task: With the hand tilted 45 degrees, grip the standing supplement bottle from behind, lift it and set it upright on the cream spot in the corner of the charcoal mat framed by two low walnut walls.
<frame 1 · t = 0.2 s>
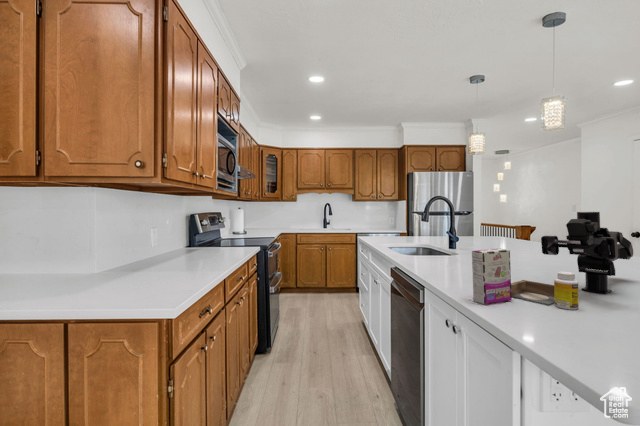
hand: (565, 250, 92), 16 cm above the countertop, tool horizontal, fingers open, 9 cm apart
supplement bottle: (566, 308, 90), on the countertop
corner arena: (535, 297, 99), on the countertop
candy bar box: (491, 301, 97), on the countertop
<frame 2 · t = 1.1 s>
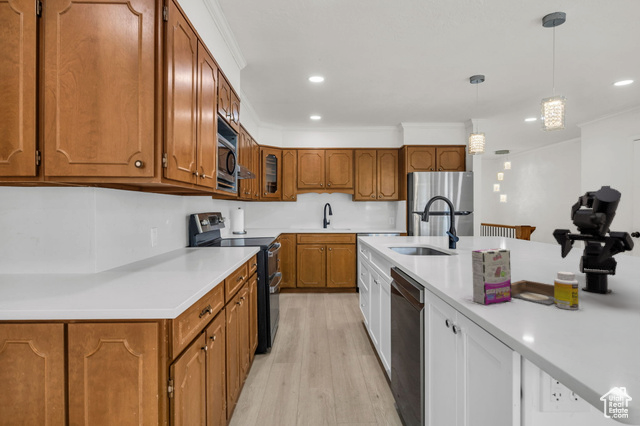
hand: (579, 259, 93), 13 cm above the countertop, tool tilted 45°, fingers open, 9 cm apart
nothing on the countertop moved.
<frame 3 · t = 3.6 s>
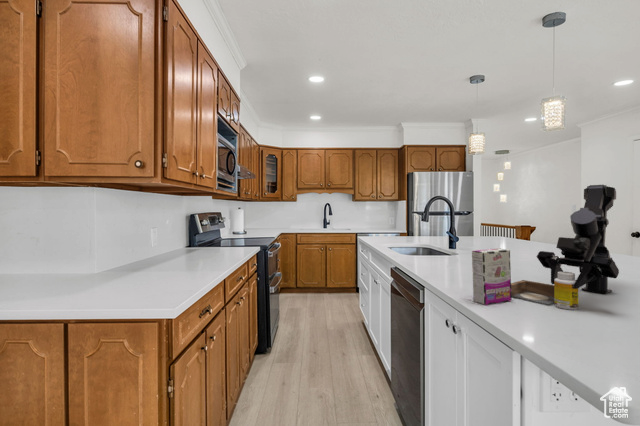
hand: (563, 285, 89), 7 cm above the countertop, tool tilted 45°, fingers closed on supplement bottle, 6 cm apart
supplement bottle: (566, 308, 90), on the countertop, touching gripper
everything else where it was.
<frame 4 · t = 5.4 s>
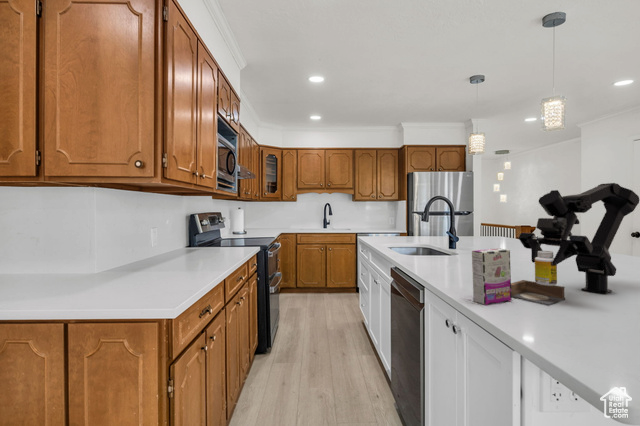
hand: (542, 263, 95), 12 cm above the countertop, tool tilted 45°, fingers closed on supplement bottle, 6 cm apart
supplement bottle: (546, 284, 96), point 5 cm above the countertop, touching gripper
everything else where it was.
when the fingers open (8 cm above the countertop, at t = 6.9 s): supplement bottle stays where it is, resting on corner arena.
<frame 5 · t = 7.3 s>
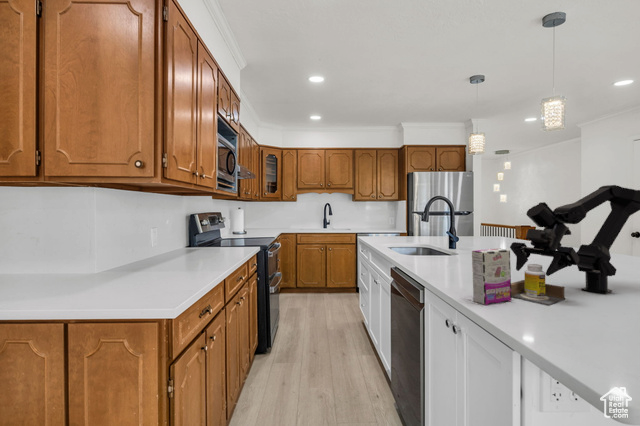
hand: (531, 272, 98), 9 cm above the countertop, tool tilted 45°, fingers open, 9 cm apart
supplement bottle: (534, 296, 99), resting on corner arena
everything else where it was.
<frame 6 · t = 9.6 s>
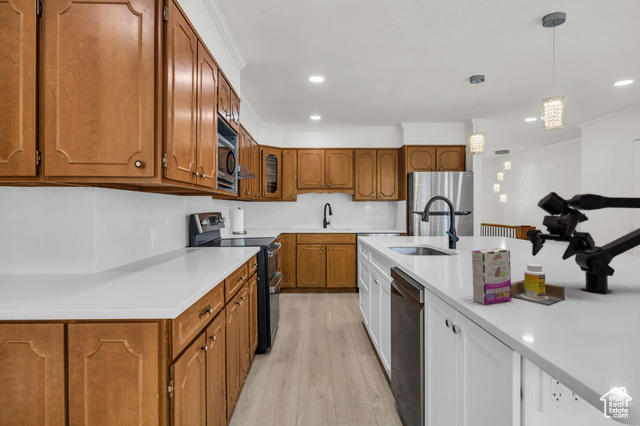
hand: (547, 257, 102), 13 cm above the countertop, tool tilted 45°, fingers open, 9 cm apart
nothing on the countertop moved.
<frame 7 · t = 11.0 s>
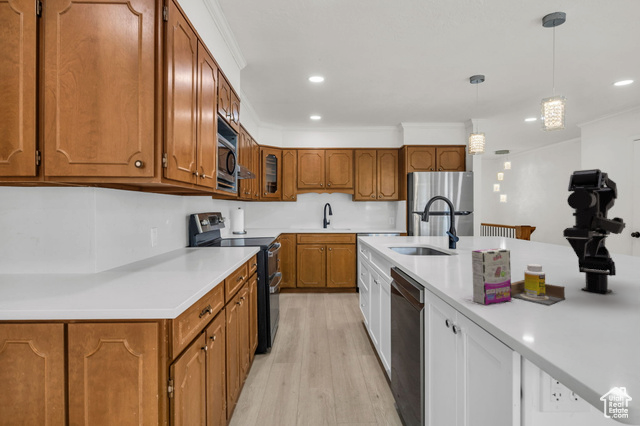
hand: (587, 258, 97), 13 cm above the countertop, tool pointing down, fingers open, 9 cm apart
nothing on the countertop moved.
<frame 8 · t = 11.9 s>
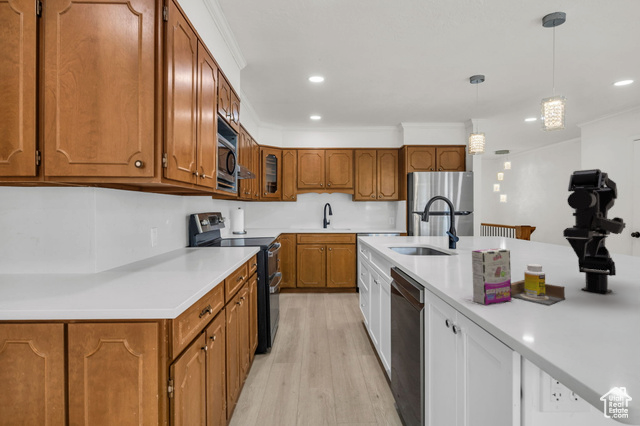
hand: (587, 258, 97), 13 cm above the countertop, tool pointing down, fingers open, 9 cm apart
nothing on the countertop moved.
at the end: supplement bottle 0.2 cm from the target spot, resting on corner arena; supplement bottle tilted 0°; the gripper is holding nothing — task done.
